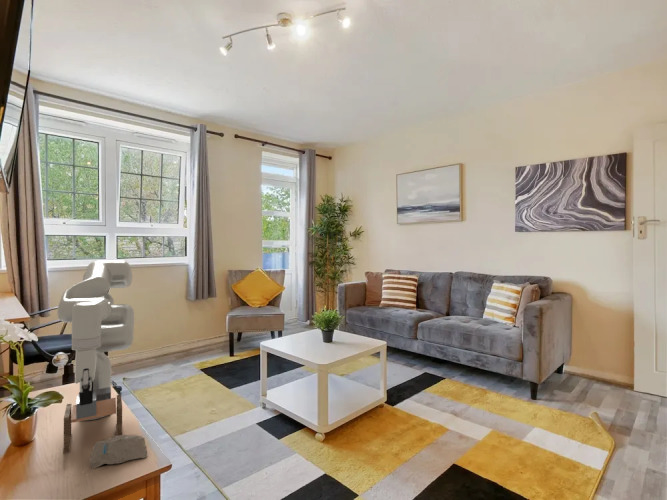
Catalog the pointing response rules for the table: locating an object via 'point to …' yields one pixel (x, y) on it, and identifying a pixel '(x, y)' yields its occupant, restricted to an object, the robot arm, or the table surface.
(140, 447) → the concrete fragment
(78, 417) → the slate block
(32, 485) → the table surface
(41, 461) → the table surface
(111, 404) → the trapdoor
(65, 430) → the frame
